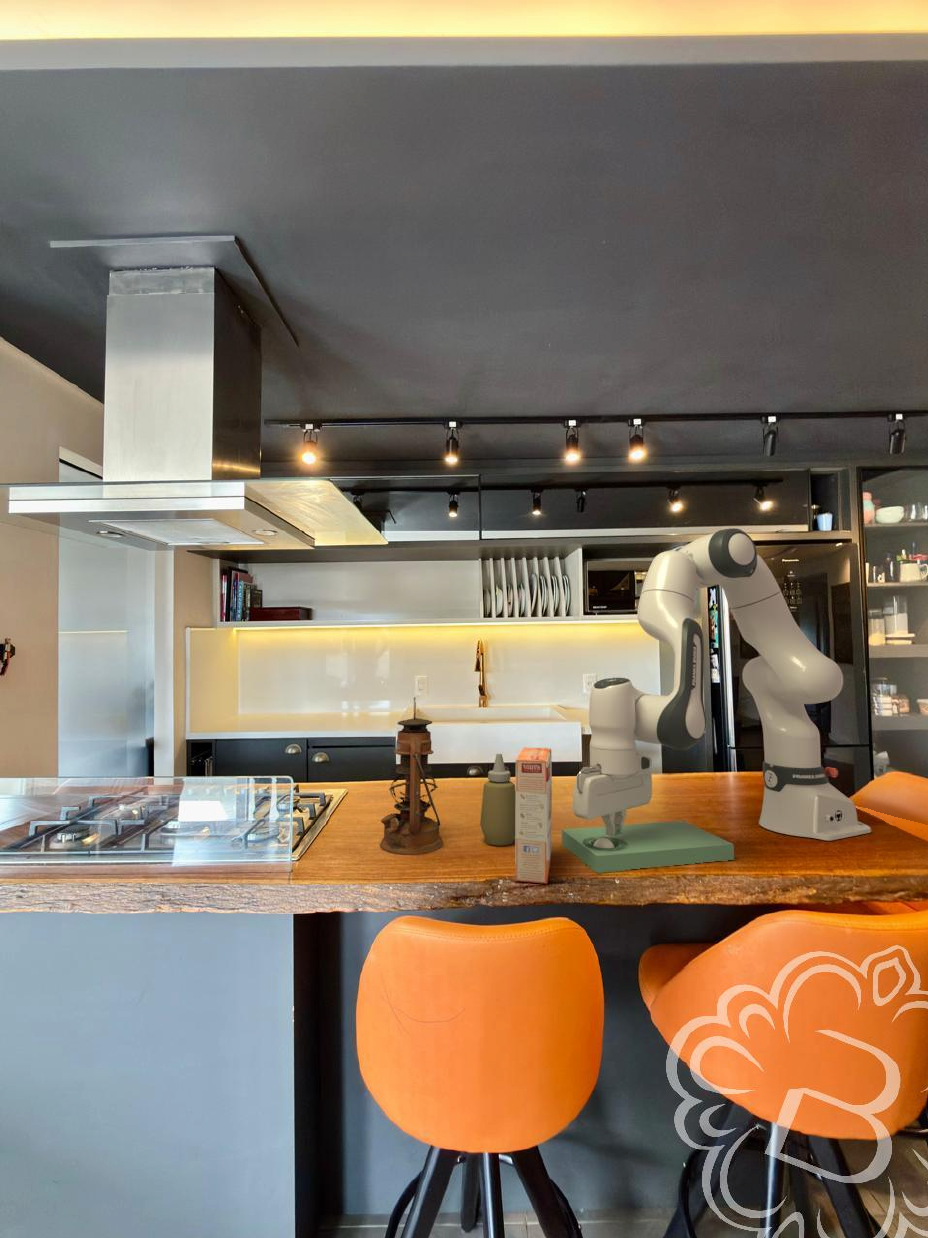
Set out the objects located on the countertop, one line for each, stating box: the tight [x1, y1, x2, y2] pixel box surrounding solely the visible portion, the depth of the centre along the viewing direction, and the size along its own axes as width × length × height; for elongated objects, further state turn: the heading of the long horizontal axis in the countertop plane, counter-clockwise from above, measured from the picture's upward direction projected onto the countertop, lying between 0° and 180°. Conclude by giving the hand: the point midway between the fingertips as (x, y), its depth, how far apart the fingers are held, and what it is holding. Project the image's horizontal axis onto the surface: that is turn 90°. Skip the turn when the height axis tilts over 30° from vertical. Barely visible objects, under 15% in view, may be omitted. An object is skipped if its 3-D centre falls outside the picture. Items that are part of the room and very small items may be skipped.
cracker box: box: [514, 747, 553, 885], centre depth 104 cm, size 14×6×21 cm, turn 168°
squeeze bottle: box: [479, 753, 516, 846], centre depth 119 cm, size 8×8×18 cm
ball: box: [594, 838, 614, 848], centre depth 108 cm, size 4×4×4 cm
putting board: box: [561, 820, 735, 874], centre depth 112 cm, size 28×16×3 cm, turn 103°
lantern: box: [379, 697, 444, 856], centre depth 119 cm, size 17×13×30 cm
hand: (614, 834), depth 110 cm, fingers closed
